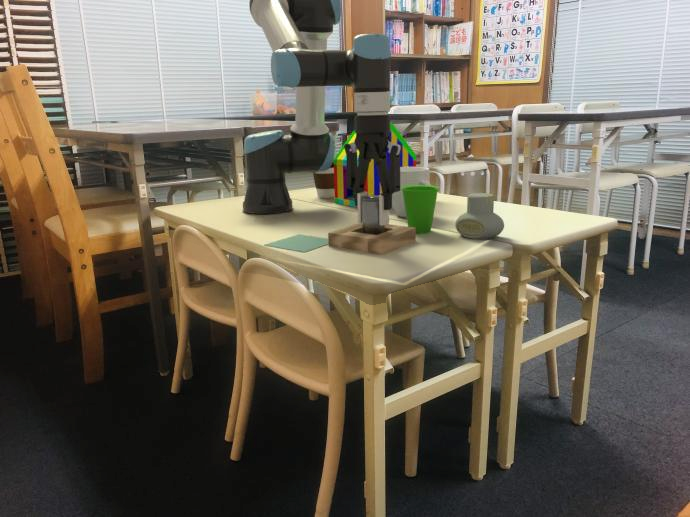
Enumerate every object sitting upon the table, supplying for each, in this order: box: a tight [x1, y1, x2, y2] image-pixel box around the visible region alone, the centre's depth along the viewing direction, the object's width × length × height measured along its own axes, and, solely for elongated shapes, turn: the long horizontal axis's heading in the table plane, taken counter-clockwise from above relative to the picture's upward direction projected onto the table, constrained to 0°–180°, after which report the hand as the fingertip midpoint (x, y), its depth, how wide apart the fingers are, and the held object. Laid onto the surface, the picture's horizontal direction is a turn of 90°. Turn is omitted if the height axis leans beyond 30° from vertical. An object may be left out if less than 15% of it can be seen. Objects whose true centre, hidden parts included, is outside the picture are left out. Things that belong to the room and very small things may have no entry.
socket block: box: [327, 222, 417, 256], centre depth 122 cm, size 14×14×4 cm
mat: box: [263, 233, 329, 253], centre depth 124 cm, size 12×12×1 cm
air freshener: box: [454, 192, 505, 240], centre depth 126 cm, size 11×8×10 cm
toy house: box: [333, 121, 417, 207], centre depth 176 cm, size 24×14×25 cm, turn 133°
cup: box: [401, 185, 440, 234], centre depth 131 cm, size 9×9×11 cm
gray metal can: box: [362, 195, 385, 235], centre depth 121 cm, size 5×5×10 cm
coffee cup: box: [312, 159, 335, 199], centre depth 187 cm, size 11×11×12 cm
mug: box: [392, 166, 432, 219], centre depth 150 cm, size 15×11×13 cm
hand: (373, 222), depth 121 cm, fingers closed on gray metal can, 5 cm apart
